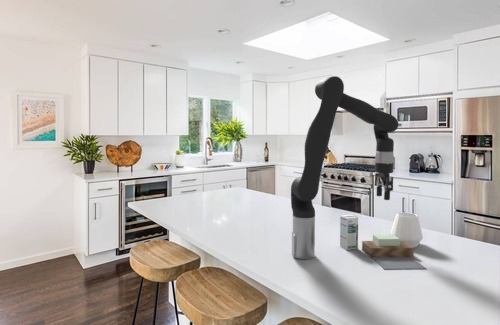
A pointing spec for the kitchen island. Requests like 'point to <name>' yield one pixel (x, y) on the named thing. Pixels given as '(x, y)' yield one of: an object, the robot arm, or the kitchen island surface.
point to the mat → (398, 263)
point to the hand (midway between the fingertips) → (382, 198)
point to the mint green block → (386, 240)
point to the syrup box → (349, 232)
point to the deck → (387, 250)
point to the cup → (407, 228)
